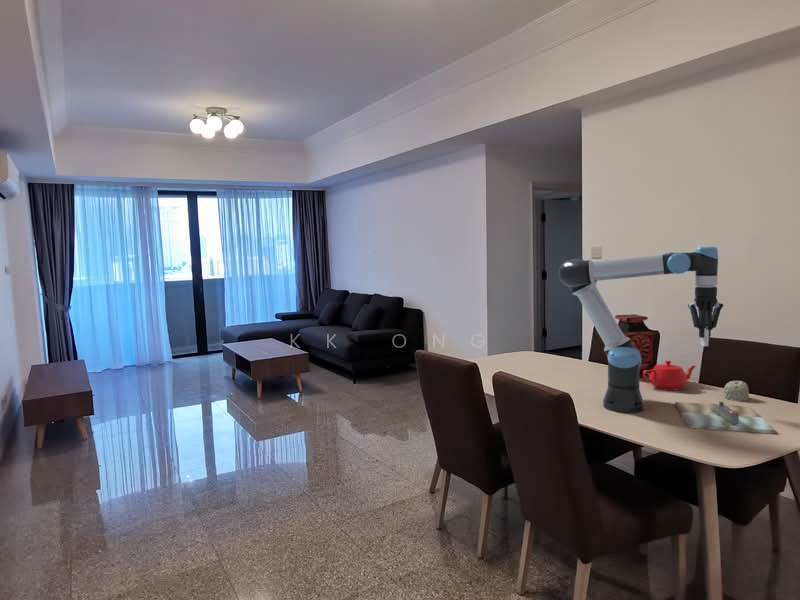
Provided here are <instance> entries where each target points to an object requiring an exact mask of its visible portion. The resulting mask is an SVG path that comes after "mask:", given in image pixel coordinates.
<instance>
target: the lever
mask: <svg viewBox="0 0 800 600" xmlns="http://www.w3.org/2000/svg"><path fill="white" fill-rule="evenodd" d="M718 405H719V404H718ZM726 405H727V404H723V405H719V415H721V416H722V417H723V418H725V419H726V420H727V421H728V422H730V423H731V424H739V412H737V411H733V410H732V409H730V408H729V407H727V406H726Z"/></svg>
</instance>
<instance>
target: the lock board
mask: <svg viewBox="0 0 800 600" xmlns="http://www.w3.org/2000/svg"><path fill="white" fill-rule="evenodd" d="M719 405H724V402H723V401H718V404H715V403H713V404H712V403H701V402H700V403H698V402H697V403H696V402H682V401H681V402H680V401H675V407H676V409H677V410H678V411H679V413H680V416H681V417H682V418H683V420H684V422H685V424H686V426H687V427H688V428H692V429H693V428H694V429H707V430H720V431H734V432H744V433H745V432H748V433H759V434H760V433H762V434H776V429H775V428H774V427H773V426H771V424H769V423H768V422H767V421H766V420H765V419H764V418H763V417H762V416H761V415H760V414H759V413H758V412H757V411H756V410H755V409H754V408H753V407H751V406H749V405H748V406H747V405H746V406H745V405H733V404H732V405H729V404H725V405H726V406H727V407H729V408H730V409H732V410H733V411H737V412H739V424H731V423H730V422H728V421H727V420H726V419H725V418H723V417H722V416H721V415H719Z"/></svg>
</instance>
